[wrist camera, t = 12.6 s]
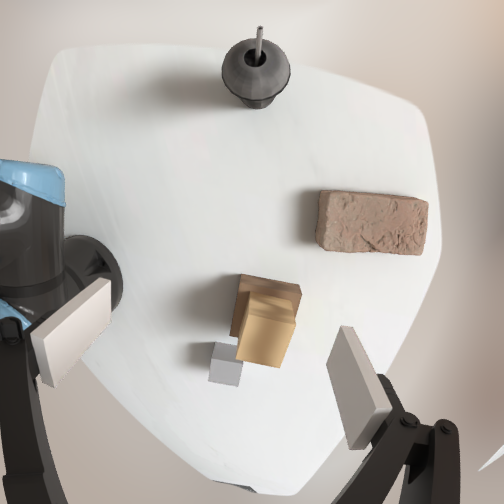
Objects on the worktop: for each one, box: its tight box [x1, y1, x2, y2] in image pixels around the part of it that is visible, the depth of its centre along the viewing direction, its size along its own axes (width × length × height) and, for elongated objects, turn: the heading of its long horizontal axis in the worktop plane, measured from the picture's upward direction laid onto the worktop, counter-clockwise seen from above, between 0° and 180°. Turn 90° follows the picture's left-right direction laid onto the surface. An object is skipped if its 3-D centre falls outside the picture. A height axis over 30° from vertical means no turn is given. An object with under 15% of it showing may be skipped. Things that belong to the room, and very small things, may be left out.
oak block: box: [236, 291, 296, 368], centre depth 40 cm, size 6×7×7 cm
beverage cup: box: [222, 26, 291, 109], centre depth 28 cm, size 7×7×20 cm
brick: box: [315, 190, 429, 255], centre depth 41 cm, size 17×8×5 cm, turn 89°
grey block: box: [208, 342, 243, 387], centre depth 47 cm, size 5×5×5 cm
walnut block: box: [229, 274, 302, 337], centre depth 45 cm, size 9×9×4 cm
